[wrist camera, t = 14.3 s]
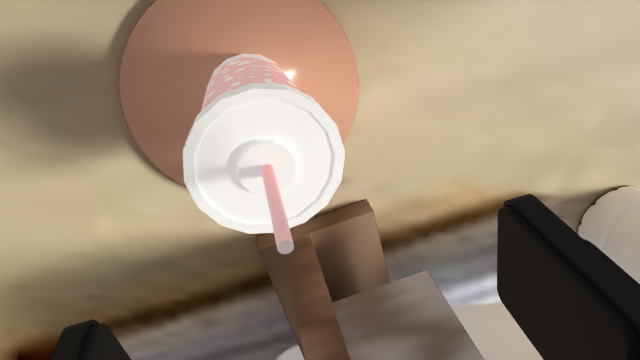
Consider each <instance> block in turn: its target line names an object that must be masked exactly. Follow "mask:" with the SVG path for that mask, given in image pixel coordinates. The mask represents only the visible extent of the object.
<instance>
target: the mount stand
mask: <svg viewBox="0 0 640 360" xmlns="http://www.w3.org/2000/svg"><path fill="white" fill-rule="evenodd" d="M290 232H291V236H292V240H293V243H294V249H293V251H292V252H290V253H288V254H281V253H280V252H278V249H277V245H276V240H275V235H274V233H266V234H263V235H260V236H257V237H256V239H257V246H258V251H259V253H260V256H261V258H262V260H263V263H264V265H265V267H266V270H267V272H268V275H269V277H270V279H271V282H272V284H273V286H274V289H275V291H276V293H277V296H278V298H279V300H280V303H281V305H282V307H283V310H284V312H285V314H286V317H287V319H288V321H289V324H290V326H291V328H292V331H293V333H294V336H295V338H296V340H297V343H298V345H299V347H300V349H301V352H302V354H303V357H304V359H305V360H484V358H483V357H482V355H481V354H480V352H479V350H478V349H477V347H476V346H475V344H474V343H473V341H472V339H471V338H470V336H469V335H468V333H467V332H466V330H465V329H464V327H463V325H462V324H461V323H460V321H459V319H458V318H457V316H456V315H455V313H454V311H453V310H452V308H451V307H450V305H449V304H448V302H447V301H446V299H445V297H444V296H443V294H442V293H441V291H440V290H439V288H438V287H437V285H436V283H435V282H434V280H433V279H432V277H431V276H430V274H429V273H428V271H427V270H424V271H421V272H418V273H415V274H413V275H410V276H407V277H404V278H401V279H398V280H395V281H392V282H390V281H389V277H388V272H387V268H386V264H385V259H384V255H383V250H382V246H381V242H380V237H379V233H378V228H377V224H376V220H375V215H374V211H373V209H372V208H371V206H370V204H369V202H368V201H367V200H364V201H361V202H358V203H355V204H352V205H349V206H346V207H343V208H340V209H337V210H334V211H331V212H328V213H325V214H322V215H319V216H316V217H313V218H310V219H309V220H308V221H306V222H305V223H303V224H300V225H297V226H295V227H292V228H290Z"/></svg>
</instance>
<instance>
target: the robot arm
mask: <svg viewBox="0 0 640 360" xmlns="http://www.w3.org/2000/svg"><path fill="white" fill-rule="evenodd" d="M497 290H498V294H499V297H500V299H501V301H502V303H503V304H504V306H505V307H506V308H507V310H508V311H509V312H510V314H511V315H512V316H513V318H514V319H515V321H516V322H517V324H518V325H519V326H520V328H521V329H522V330H523V332H524V333H525V334H526V336H527V337H528V338H529V340H530V341H531V343H532V344H533V345H534V347H535V348H536V350H537V351H538V352H539V354H540V355H541V356H542V358H543V359H544V360H640V284H639V283H638V282H637V281H636V280H634V279H633V278H632V277H631V276H630V275H629V274H628V273H626V272H625V271H624V270H623V269H622V268H621V267H620V266H618V265H617V264H616V263H615V262H614V261H613V260H611V259H610V258H609V257H608V256H607V255H606V254H605V253H603V252H602V251H601V250H600V249H599V248H598V247H596V246H595V245H594V244H593V243H591V242H590V241H588V240H585V239H583V238H581V237H580V236H579V235H578V234H577V233H576V232H575V231H573V230H572V229H571V228H570V227H569V226H568V225H567V224H566V223H564V222H563V221H562V220H561V219H560V218H559V217H558V216H556V215H555V214H554V213H553V212H552V211H551V210H550V209H548V208H547V207H546V206H545V205H544V204H543V203H542V202H541V201H539V200H538V199H537V198H536V197H535V196H533V195H531V194H528V195H524V196H521V197H517V198H514V199H510V200H507V201H505V203H504V206H503V208H502V209H499V211H498V253H497ZM51 360H131V359H130V357H129V356H128V354H127V353H126V351H125V350H124V349H123V347H122V346H121V344H120V343H119V342H118V340H117V339H116V337H115V336H114V334H113V333H112V332H111V330H110V329H109V327H108V326H107V325H106V324H104V323H103V324H99V323H98V322H97V321H96V320H89V321H86V322H82V323H79V324H75V325H72V326H68V327H66V328H65V329H64V330H63V332H62V333H61V336H60V338H59V341H58V343H57V346H56V348H55V350H54V353H53V355H52V358H51Z"/></svg>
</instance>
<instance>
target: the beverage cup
mask: <svg viewBox="0 0 640 360" xmlns="http://www.w3.org/2000/svg"><path fill="white" fill-rule="evenodd" d="M344 159H345V150H344V147H343V144H342V140H341V137H340V134H339V130H338V127H337V125H336V123H335V122H334V121H333V120H332V119H331V118H330V117H329V115H328V114H327V113H326V112H325V111H324V110H323V109H322V107H321V106H320V105H319V104H318V103H317V102H316V101H315V99H314V98H313V97H311V96H309V95H307V94H304V93H302V92H300V91H299V89H298V88H297V87H296V86H295V85H294V83H293V82H292V81H291V80H290V79H289V78H288V76H287V75H286V74H285V73H284V72H283V71H282V70H281V68H280V67H279V66H278V65H277V64H276V63H275V62H274V61H272V60H270V59H268V58H266V57H264V56H261V55H259V54H240V55H237V56H234V57H231V58H228V59H226V60H225V61H224V62H223V63H222V64H221V65H220V66H219V67H217V68H216V69H215V70H214V72H213V74H212V77H211V79H210V81H209V84H208V86H207V90H206V94H205V97H204V101H203V105H202V108H201V112H200V113H199V114H198V115H197V116H196V119H195V121H194V123H193V126H192V128H191V130H190V133H189V135H188V137H187V140H186V142H185V146H184V148H183V169H184V183H185V185H186V186H187V188H188V190H189V192H190V194H191V196H192V197H193V199H194V201H195V203H196V205H197V207H198V208H199V209H201V210H202V211H203V212H204V213H206V214H207V215H208V216H210V217H211V218H212V219H213V220H215V221H216V222H217V223H218V224H220V225H222V226H225V227H228V228H231V229H235V230H238V231H241V232H245V233H248V234H255V233H274V235H275V240H276V245H277V249H278V252H280V253H281V254H288V253H290V252H292V251H293V249H294V243H293V240H292V236H291V232H290V228H292V227H295V226H297V225H300V224H303V223H305V222H306V221H308V220H309V219H310V218H311V217H313V216H314V215H315V214H316V213H318V212H319V211H320V210H321V209H322V208H324V207H325V206H326V205H327V204H328V203H329V201H330V199H331V197H332V196H333V194H334V192H335V191H336V189H337V187H338V185H339V184H340V182H341V180H342V173H343V166H344Z"/></svg>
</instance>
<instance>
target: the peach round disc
mask: <svg viewBox="0 0 640 360" xmlns="http://www.w3.org/2000/svg"><path fill="white" fill-rule="evenodd" d="M240 54H259V55H261V56H264V57H266V58H268V59H270V60H272V61H274V62H275V63H276V64H277V65H278V66H279V67H280V68H281V70H282V71H283V72H284V73H285V74H286V75H287V76H288V78H289V79H290V80H291V81H292V82H293V83H294V85H295V86H296V87H297V88H298V89H299V91H300V92H302V93H304V94H307V95H309V96H311V97H313V98H314V99H315V101H316V102H317V103H318V104H319V105H320V106H321V107H322V109H323V110H324V111H325V112H326V113H327V114H328V115H329V117H330V118H331V119H332V120H333V121H334V122H335V123H336V125H337V127H338V130H339V134H340V137H341V140H342V144H343V143H344V141H345V140H346V138H347V136H348V133H349V131H350V129H351V127H352V124H353V121H354V117H355V114H356V110H357V103H358V95H359V80H358V69H357V65H356V61H355V56H354V53H353V50H352V48H351V45H350V42H349V40H348V38H347V36H346V34H345V33H344V31H343V29H342V27H341V26H340V24H339V23H338V22H337V20H336V19H335V17H334V16H333V15H332V13H331V12H330V11H329V10H328V9H327V8H326V7H325V6H324V5H323V4H322V3H321V2H320V1H319V0H156V1H155V2H154V3H153V4H152V5H151V6H150V7H149V8H148V9H147V10H146V12H145V13H144V14H143V16H142V17H141V18H140V19H139V21H138V22H137V24H136V26H135V27H134V29H133V31H132V33H131V35H130V36H129V39H128V41H127V44H126V47H125V50H124V52H123V57H122V62H121V67H120V79H119V89H120V99H121V105H122V109H123V113H124V117H125V119H126V122H127V125H128V127H129V130H130V132H131V134H132V135H133V137H134V139H135V141H136V143H137V144H138V146H139V147H140V148H141V150H142V151H143V153H144V154H145V155H146V157H147V158H148V159H149V160H150V161H151V162H152V163H153V164H154V165H155V166H156V167H157V168H158V169H159V170H161V171H162V172H163V173H164V174H166V175H167V176H168V177H170V178H171V179H173V180H174V181H176V182H177V183H179V184H181V185H183V186H185V187H187V186H186V185H185V183H184V169H183V148H184V146H185V142H186V140H187V137H188V135H189V133H190V130H191V128H192V126H193V123H194V121H195V119H196V116H197V115H198V114H199V113H200V112H201V108H202V105H203V101H204V97H205V94H206V90H207V86H208V84H209V81H210V79H211V77H212V74H213V72H214V70H215V69H216V68H217V67H219V66H220V65H221V64H222V63H223V62H224V61H225V60H226V59H228V58H231V57H234V56H237V55H240Z"/></svg>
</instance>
